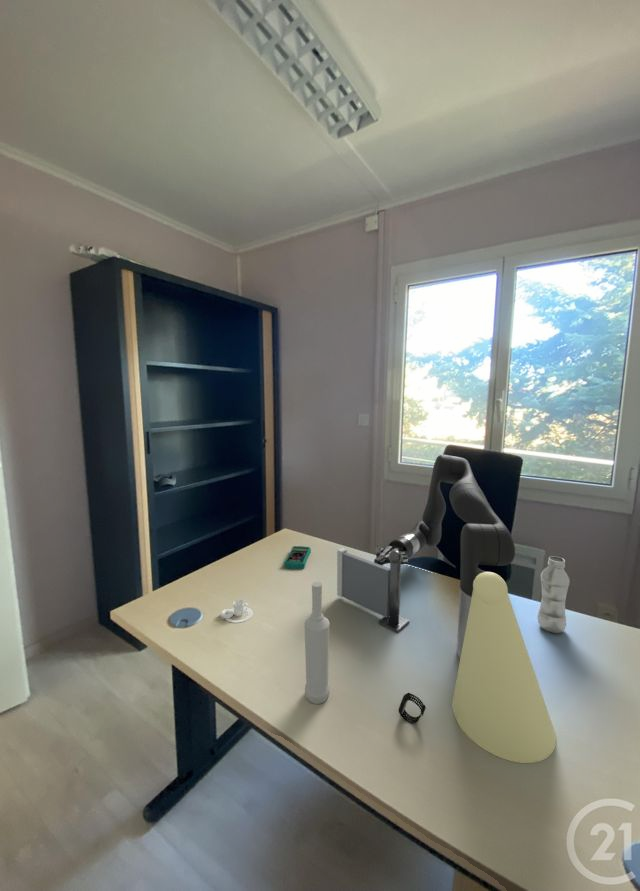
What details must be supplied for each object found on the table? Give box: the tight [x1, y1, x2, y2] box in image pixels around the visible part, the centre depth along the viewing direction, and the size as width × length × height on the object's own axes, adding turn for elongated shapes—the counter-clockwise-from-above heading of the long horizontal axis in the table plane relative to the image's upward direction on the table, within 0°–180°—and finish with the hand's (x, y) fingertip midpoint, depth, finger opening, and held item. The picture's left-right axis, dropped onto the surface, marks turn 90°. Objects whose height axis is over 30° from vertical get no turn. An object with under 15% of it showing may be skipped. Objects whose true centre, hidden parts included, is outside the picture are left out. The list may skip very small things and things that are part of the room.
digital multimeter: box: [283, 545, 312, 570], centre depth 143 cm, size 8×15×3 cm, turn 172°
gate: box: [336, 547, 390, 618], centre depth 109 cm, size 18×2×15 cm, turn 47°
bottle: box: [304, 581, 330, 705], centre depth 77 cm, size 5×5×25 cm
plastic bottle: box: [537, 555, 571, 634], centre depth 99 cm, size 6×7×20 cm
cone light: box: [451, 571, 557, 764], centre depth 68 cm, size 25×18×35 cm
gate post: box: [378, 550, 410, 634], centre depth 101 cm, size 6×6×21 cm
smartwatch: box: [398, 692, 426, 725], centre depth 72 cm, size 4×5×5 cm
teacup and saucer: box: [219, 599, 254, 624], centre depth 107 cm, size 9×8×4 cm
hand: (376, 563), depth 118 cm, fingers closed
